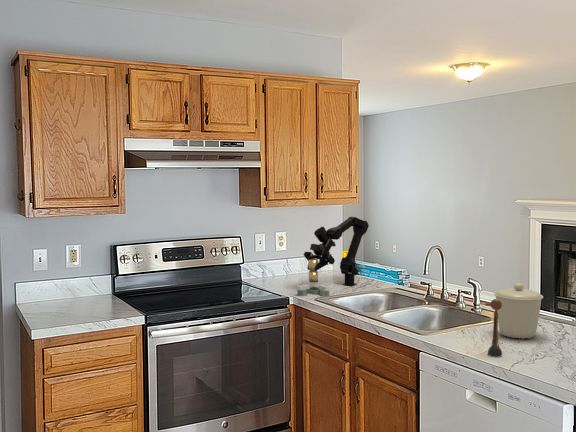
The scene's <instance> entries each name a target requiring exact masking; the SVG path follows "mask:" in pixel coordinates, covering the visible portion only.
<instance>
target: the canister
mask: <svg viewBox="0 0 576 432" xmlns="http://www.w3.org/2000/svg"><path fill="white" fill-rule="evenodd" d="M494 296H495V299H498V300H500V301H501V303H502V307H501V309H500V310H497V313H498V329H499V330H498V331H499V332H500V334H501V335H502V336H505V337H506V336H507V338H510V337H511V339H515V338H519V339H518V340H526V339H525V338H528V339H532V338H533V337H535V335H536V334H537V330H538V325H539V319H540V313H541V306H542V300H543V299H544V296H543V295H542V294H541V293H539V292H537V291H536V290H533V289H528V288H527V289H525V288H524V285H523V284H522V283H521V282H516V283H515V284H514V285H513V287H512V288H511V287H510V288H509V287H508V288H501V289H499V290H497V291H495V292H494ZM520 338H521V339H520Z"/></svg>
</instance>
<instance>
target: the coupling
mask: <svg viewBox="0 0 576 432" xmlns="http://www.w3.org/2000/svg"><path fill="white" fill-rule="evenodd" d="M308 262H309V270H308V282H309V283H310V284H311V283H315V284H316V283H318V282H319V271H318V270H317V271H315V268H316V266H317V264H318V262H319V259H309V261H308Z"/></svg>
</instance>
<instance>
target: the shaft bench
mask: <svg viewBox="0 0 576 432" xmlns="http://www.w3.org/2000/svg"><path fill="white" fill-rule="evenodd" d="M296 290H297V292H296V295H297V296H299V297H300V296H302V297H306V296H307V294H310V295H314V296H317V295H319V296H320V297H330V286H327V285H324V284H318V286H311V285H310V284H307V283H306V284H301V285H297V286H296Z"/></svg>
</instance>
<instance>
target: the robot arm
mask: <svg viewBox="0 0 576 432" xmlns="http://www.w3.org/2000/svg"><path fill="white" fill-rule="evenodd" d="M369 224H370V223H368V221H367V220H363V219H361V218H359V217H356V216H349V217H348V218H347V219H345V220H344V221H342V222H341V223H340V224H338V225H336V226H334V227H331V228H328V229H327V230H326V228H325V226H320V227H319V228H317V229H316V230H315V231H314V232H313V234H314V236H315V237H316V239H317V240H318V241H319V242H320V243H318V244H316V243H311V244H310V247H309V250H310V251H304V252H303V256H304V258H305V259H306V260H307V262H308V263H307V270H308V271H310V270H309V259H318V264H317V266H316V268H315V271H318V270H320V269H322V268H323V267H326V266H328V265H334V263H335V262H336V259H335V258H334V257H333V255H332V254H331V253H330V250H331V248H332V247H336V241H337V240H339V239H340V238H341V237H342V236H343V233H345V232H346V231H347V230H349V229H350V228H351V227H352V231H353V236H352V239H351V242H350V244H349V248H348V250H347V254H346V256H345V257H341V261H340V263H339V268H340V274H342V275H344V283H342V286H350V287H353V286H357V284H358V283H355V276H357V275H359V270H358V268H357V267H356V264H357V263H356V257H357V253H358V250H359V247H360V244H361V240H362V238H363V236H364V235H366V233H367V231H368V229H369ZM334 240H336V241H334ZM312 251H313V253H312Z"/></svg>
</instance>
